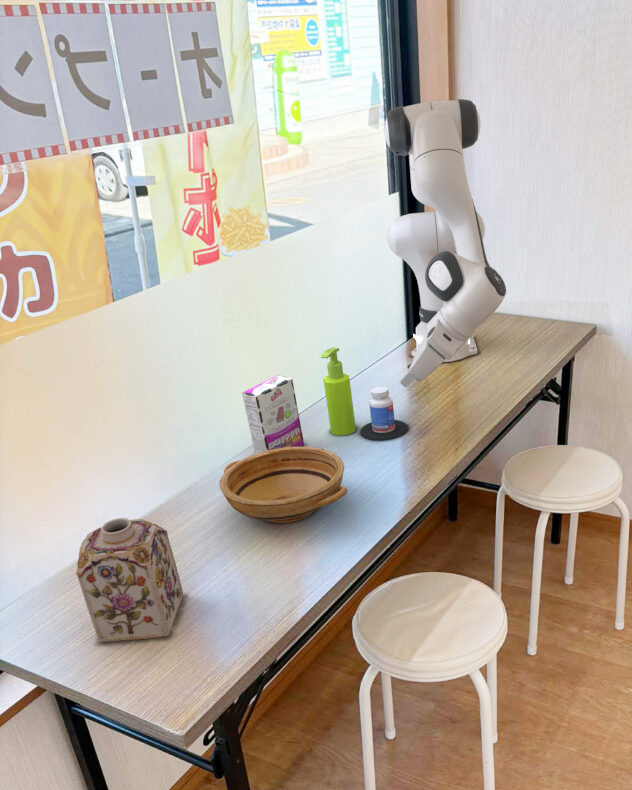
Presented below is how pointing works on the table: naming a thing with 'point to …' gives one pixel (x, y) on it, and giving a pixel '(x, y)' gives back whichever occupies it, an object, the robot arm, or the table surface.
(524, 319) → the table surface
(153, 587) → the decorative jar
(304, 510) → the ceramic bowl
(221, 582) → the table surface
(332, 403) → the lime green pump bottle
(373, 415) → the pill bottle
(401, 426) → the coaster
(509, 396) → the table surface
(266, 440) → the candy bar box
